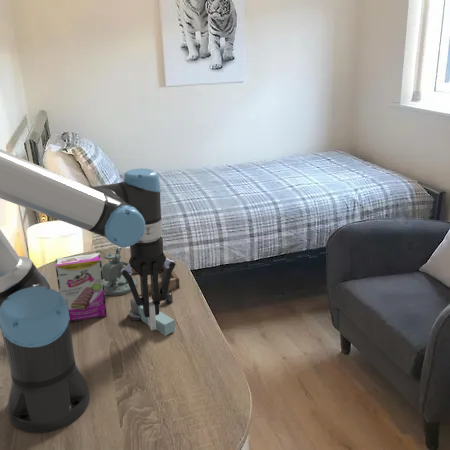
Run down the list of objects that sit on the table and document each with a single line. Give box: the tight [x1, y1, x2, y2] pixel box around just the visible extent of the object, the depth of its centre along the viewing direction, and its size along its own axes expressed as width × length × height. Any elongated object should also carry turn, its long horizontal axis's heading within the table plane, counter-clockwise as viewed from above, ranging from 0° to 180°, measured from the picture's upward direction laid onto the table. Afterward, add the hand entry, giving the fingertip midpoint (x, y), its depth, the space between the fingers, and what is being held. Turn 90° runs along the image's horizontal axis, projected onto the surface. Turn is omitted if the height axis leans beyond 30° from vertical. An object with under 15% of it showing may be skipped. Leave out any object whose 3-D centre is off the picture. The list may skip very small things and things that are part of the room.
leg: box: [130, 295, 176, 336], centre depth 126 cm, size 4×15×4 cm, turn 44°
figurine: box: [102, 247, 138, 297], centre depth 144 cm, size 11×11×12 cm
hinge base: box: [129, 291, 174, 321], centre depth 132 cm, size 12×7×2 cm, turn 112°
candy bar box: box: [55, 252, 108, 323], centre depth 128 cm, size 11×5×16 cm, turn 108°
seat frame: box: [131, 264, 181, 295], centre depth 149 cm, size 11×16×3 cm
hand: (152, 326), depth 122 cm, fingers closed
